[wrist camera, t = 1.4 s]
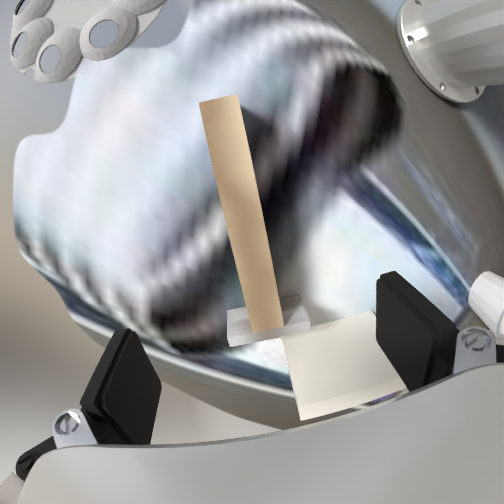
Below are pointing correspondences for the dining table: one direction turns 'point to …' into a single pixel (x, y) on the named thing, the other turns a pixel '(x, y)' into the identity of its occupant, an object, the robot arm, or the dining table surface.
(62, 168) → the dining table surface
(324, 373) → the tile
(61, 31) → the paint palette
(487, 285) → the white cylinder
